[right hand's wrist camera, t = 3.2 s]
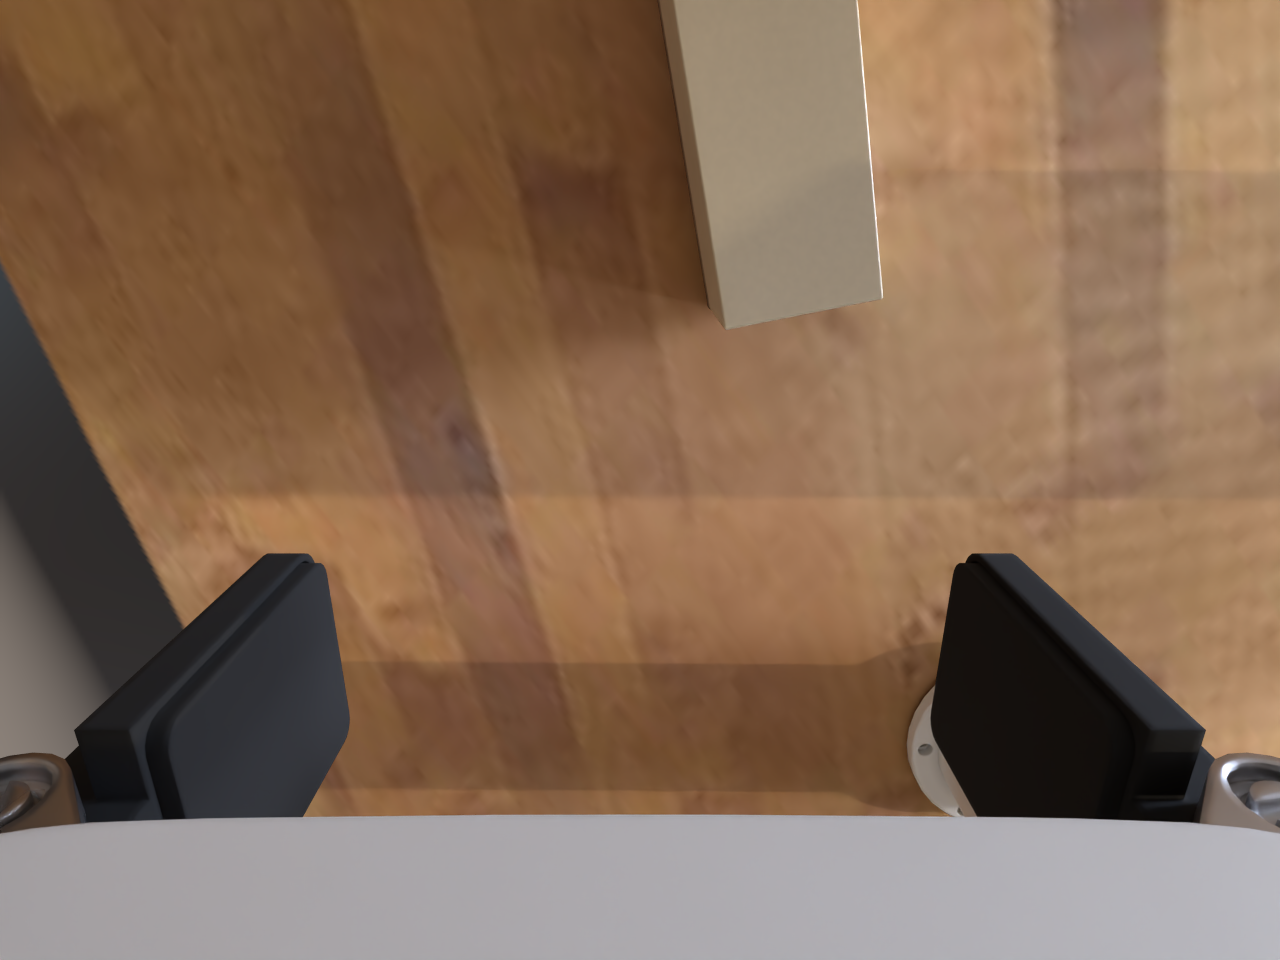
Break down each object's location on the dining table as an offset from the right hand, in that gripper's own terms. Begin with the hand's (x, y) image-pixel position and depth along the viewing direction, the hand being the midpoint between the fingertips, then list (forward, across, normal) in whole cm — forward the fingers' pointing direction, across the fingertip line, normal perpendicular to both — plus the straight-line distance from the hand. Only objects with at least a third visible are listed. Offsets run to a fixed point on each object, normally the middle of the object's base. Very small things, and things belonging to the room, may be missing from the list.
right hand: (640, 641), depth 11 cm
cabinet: (+28, -4, -12) cm, 31 cm away
